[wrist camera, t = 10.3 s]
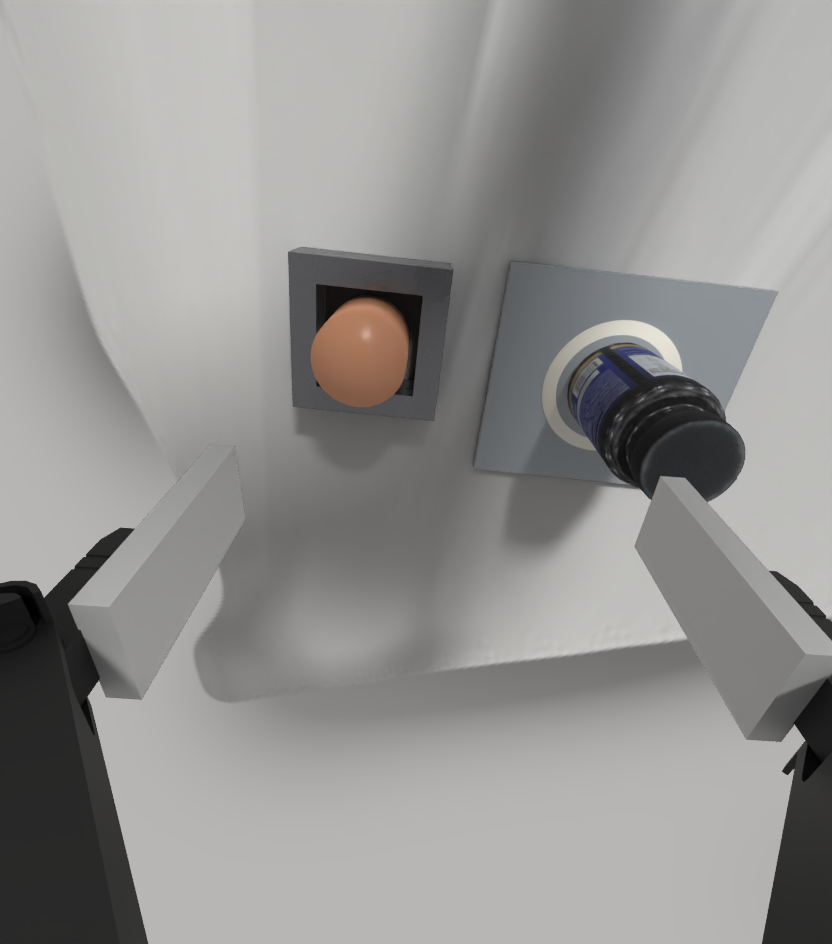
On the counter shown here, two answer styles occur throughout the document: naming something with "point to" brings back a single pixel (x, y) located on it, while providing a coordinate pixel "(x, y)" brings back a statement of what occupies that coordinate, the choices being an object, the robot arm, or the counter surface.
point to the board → (588, 329)
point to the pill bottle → (654, 421)
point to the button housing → (378, 274)
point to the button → (362, 352)
